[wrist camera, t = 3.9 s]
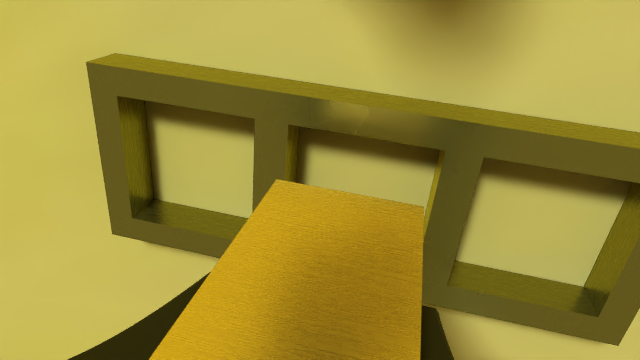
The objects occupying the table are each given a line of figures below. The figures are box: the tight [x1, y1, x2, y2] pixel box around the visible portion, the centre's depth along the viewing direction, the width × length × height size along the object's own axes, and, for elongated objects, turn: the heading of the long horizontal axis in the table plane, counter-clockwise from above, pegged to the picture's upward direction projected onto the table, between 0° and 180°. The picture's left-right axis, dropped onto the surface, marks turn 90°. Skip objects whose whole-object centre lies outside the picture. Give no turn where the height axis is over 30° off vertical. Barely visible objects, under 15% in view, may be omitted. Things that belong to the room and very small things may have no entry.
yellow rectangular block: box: [149, 179, 424, 360], centre depth 11 cm, size 4×4×8 cm
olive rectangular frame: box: [86, 53, 640, 346], centre depth 18 cm, size 22×8×2 cm, turn 85°
